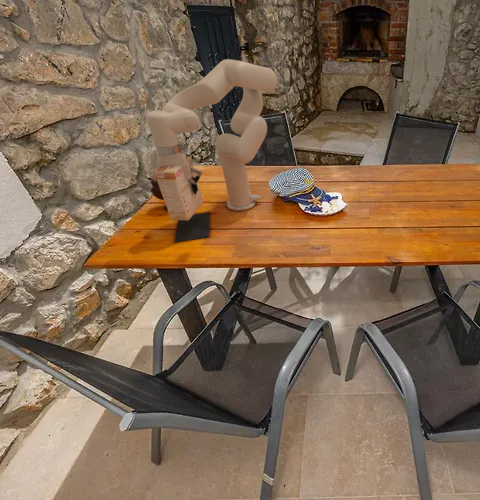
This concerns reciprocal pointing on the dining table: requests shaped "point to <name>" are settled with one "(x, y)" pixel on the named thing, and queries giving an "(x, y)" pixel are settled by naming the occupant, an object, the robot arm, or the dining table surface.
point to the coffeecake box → (178, 192)
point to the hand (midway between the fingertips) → (182, 194)
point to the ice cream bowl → (157, 191)
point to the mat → (193, 228)
